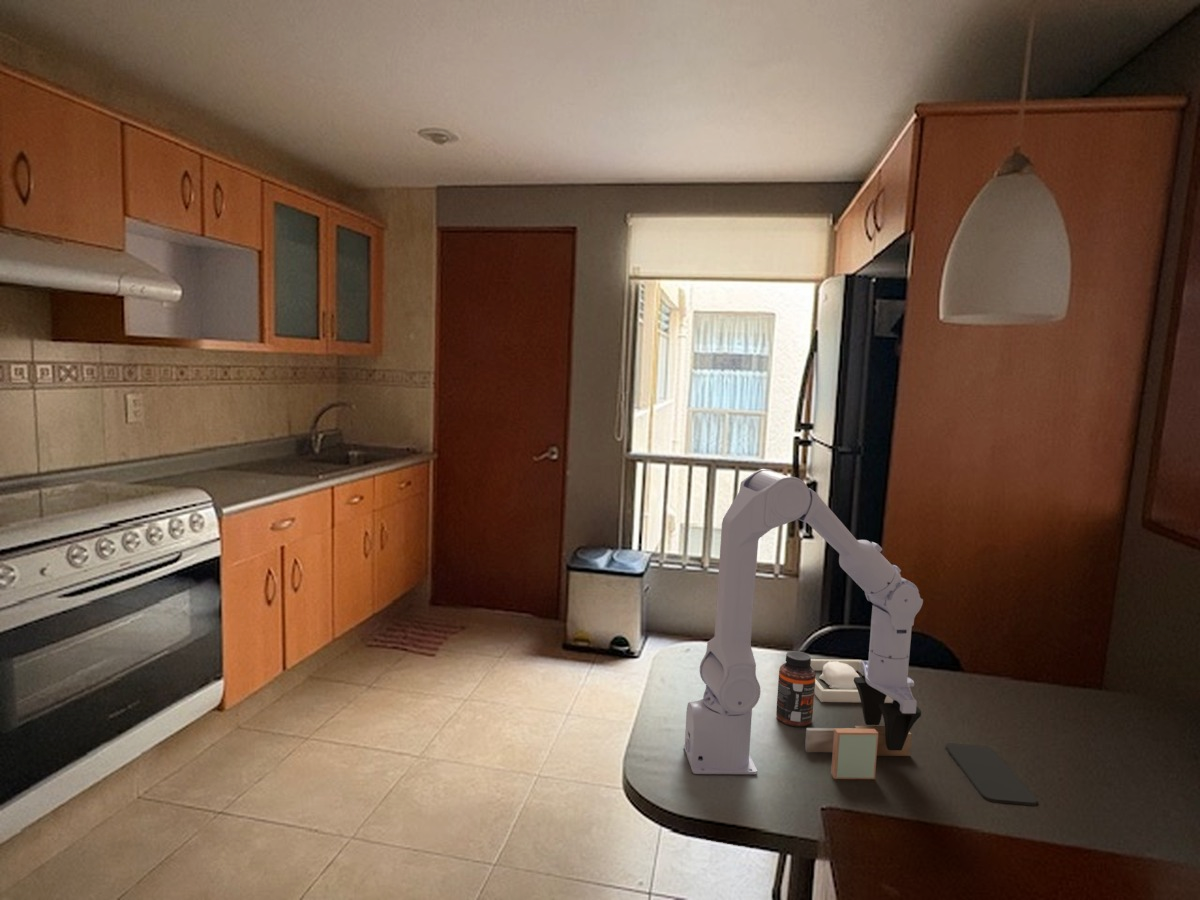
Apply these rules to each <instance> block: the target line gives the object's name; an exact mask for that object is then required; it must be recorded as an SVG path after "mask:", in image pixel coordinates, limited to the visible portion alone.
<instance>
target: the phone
mask: <svg viewBox="0 0 1200 900" xmlns="http://www.w3.org/2000/svg"><path fill="white" fill-rule="evenodd" d="M945 750H946V751H947V753H948V755H949V756H950V757H951V759H952V760H953V761H954V763H955V764H956V765H957V766H958V767H959V769H960V770H961V771H962V773H963V774H964V775H965V777H966V778H967V780H969V782H970V783H971V784H972V786H973V787H974V789H975V790H976V791H977V792H978V794H979V795H980V796H981V797H982V799H984V800H986V801H988V802H992V803H1001V804H1014V805H1024V806H1036V805H1038V799H1037V797H1035V795H1034V794H1033V793H1032V792H1031V790H1029V788H1028V787H1027V786H1026V785H1025V784H1024V782H1023V781H1022V780H1020V778H1019V777H1018V775H1016V773H1015V772H1014V771H1013V770H1012V769H1011V768H1010V767H1009V765H1008V764H1007V763H1006V762H1005V761H1004V760H1003V759H1002V758H1001V756H1000V755H999V754H998V753H997V752H996V751H995V750H994V749H993V748H991V747H990V746H987V745H980V744H979V745H977V744H968V743H967V744H966V743H952V742H948V743H946V744H945Z"/></svg>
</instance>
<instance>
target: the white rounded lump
mask: <svg viewBox="0 0 1200 900" xmlns="http://www.w3.org/2000/svg"><path fill="white" fill-rule="evenodd" d="M857 672H858V671H855V670H854V668H853V667H851V666H849V665H848V664H845V663H840V662H838V661H836V662H831V661H828V663H826V664H825V665H824V666H823V671H822V673H821V674H820V675H819V676H818V677H819V680H823V681H824V682H825V684H827V685H828V687H829V688H830V689H843V690H858V689H857V687H856V685H855V683H854V678H855V677H861V676H860V675H859V672H858V673H857Z"/></svg>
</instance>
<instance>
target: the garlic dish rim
mask: <svg viewBox="0 0 1200 900" xmlns="http://www.w3.org/2000/svg"><path fill="white" fill-rule="evenodd" d="M828 661H831V662H836V661H838V662H840V663H845V664H848V665H849V666H851V667H853V668H854V670H855V671H856V672H858V673H860V675H861V676H864V674H862V673H861V672H860V667H861V661H863V659H831V658H829V659H827V658H823V659H821V658H818V659H817V658H811V664H810V666H811V668H812V669H813V670H814V671H822V672H823V666H824V665H825V664H826V663H828ZM814 696H816V698H817V699H818V700H819V701H820V703H861V699H860V695H859V692H858V689H852V690H843V689H832V688H830V689H828V688H824V687H823V686H822V685H821V684H820V682H819V681H818V680H817V679H816V678H815V689H814ZM884 703H892V704H893V699H892V698H891V697H889V696H886V698H885V702H884Z"/></svg>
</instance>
